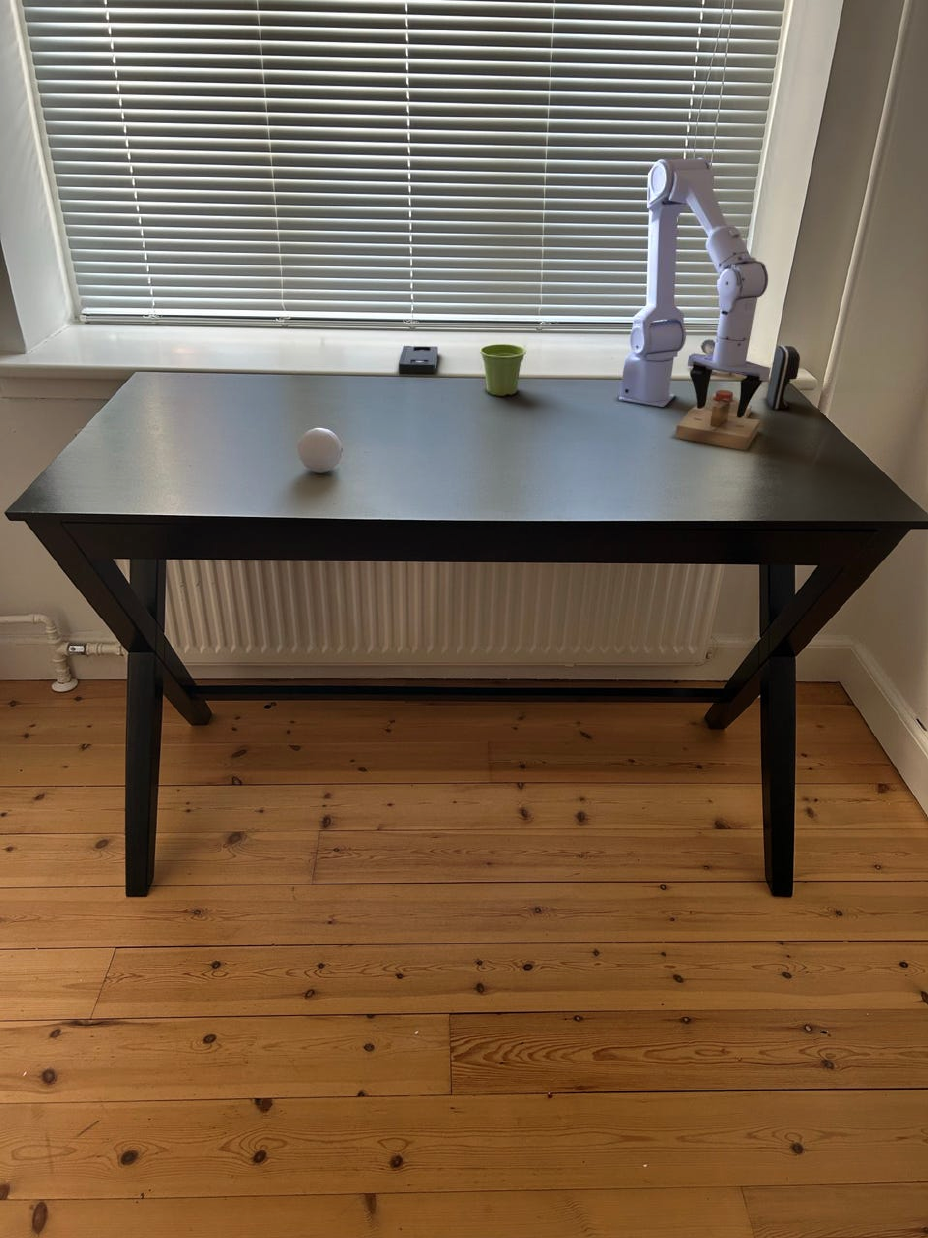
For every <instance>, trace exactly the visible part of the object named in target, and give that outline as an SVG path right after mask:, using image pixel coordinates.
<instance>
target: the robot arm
mask: <svg viewBox="0 0 928 1238" xmlns="http://www.w3.org/2000/svg"><path fill="white" fill-rule="evenodd" d="M714 182H715V172H714V171H713V169H712V166H711V163H710V161H709V160H708V159H707V158H705V157H697V158H682V159H665V158H661V159H659V160H657V161H656V162H655V163H654V165H653V166H652V168H651V169H650V171H649V172H648V174H647V193H646V194H647V195H646V196H647V199H646V209H648V232H647V233H648V235H647V268H646V269H647V270H646V301H645V303H646V304H645V305H644V306H643V308H641V310H639V311H638V312H637V313H636V314H635V315H634V316H633V318H632V319H633V321H632V328H631V331H630V334H629V344H630V345H629V346H630V349H631V351H632V352H629V353H628V354H627V355H626V357H625V360H624V363H623V367H622V375H621V385H620V386H621V387H620V395H619V398H618V400H619V401H622V402H630V403H633V404H634V403H635V404H641V405H647V406H652V407H659V408H665V406H667V405H668V404H669V403H670V401H672V399H673V398H675V394H674V393H671V392H670V389H671V382H672V376H673V375H672V373H673V367H674V360H675V358H676V357H678V353H679V352H681V350H682V349H683V348H684V347H685V344H686V340H687V331H686V327H685V318H684V317H685V315H684V312H683V311H681V310H680V309H679V307H677V306H676V305H675V294H676V293H675V291H676V269H677V268H676V267H677V243H678V220H679V219H678V218H679V216H680V214H681V213H682V212H683V211H684V210H685V209H686V208H687V207H690V208H691V210H692V213H693V214H694V215H695V217H696V219H697V221H698V222H699V224H700V226H701V228H702V229H703V230H704V232H705V233H706V236H707V239H706V241H705V249H706V251H707V254H708V255H709V257H710V260H711V262H712V264H713V265H714V268H715V270H716V272H717V274H718V276H719V278H718V279H717V281H716V286H717V287H716V288H717V292H718V298H719V299H718V307H719V310H720V312H719V318H718V324H717V331H716V337H715V349H714V355H707V354H701V353H695V352H693V353H691V354H690V355H688V358H687V367H690V368H691V370H690V371H689V377H690V379H691V382H692V385H693V387H694V391H695V398H696V404H697V408H698V409H701V408H703V407H704V406H705V404H706V399H707V398H708V392H709V391H708V390H709V386H710V382H711V377H712V374H713V371H717V372H721V373H722V372H723V373H726V374H727V373H728V374H729V373H732V374H733V375H738V376H742V377H746V378H743V379H741V380H740V391H739V392H740V393H739V400H740V402H739V406H738V411H737V417H739V418H741V417H742V416H744V415H745V412H746V409H747V407H748V405H750V403H751V400H752V398H753V397H754V395H755V393H756V392H757V391H758V389H759V387H760V386H761V385H762V383H763V382H765V381H767V380H768V379H770V375H771V370H772V367H769V366H765V365H761V364H757V363H754V362H752V361H748V360H747V358H748V352H749V346H750V342H751V336H752V332H753V331H752V330H753V324H754V320H755V315H756V309H757V303H758V298H760V297H762V296H763V295H764V294H765V292H766V291H767V288H768V284H769V274H768V270H767V267H766V265H765V264H764V262H762V261H759V260H757V259H756V257H752V256H751V254H750V252H749V250H748V248H747V246H746V243H745V242H744V240H743V238H742V236H741V232H740V230H739V228H737V227H736V226H733V225H728V224H727V221H726V219H725V217H724V214H723V211H722V208H721V207H720V204H719V200H718V198H717V196H716V193H715V191H714V188H713V186H714ZM732 374H731V375H732Z"/></svg>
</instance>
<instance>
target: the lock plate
mask: <svg viewBox="0 0 928 1238" xmlns="http://www.w3.org/2000/svg"><path fill="white" fill-rule="evenodd" d="M711 415H712V412H706V411H700V410H693V408H691V409H689V411H688V412H687V413H686V414H685V415H684V416H683V418H681V420H680V421H679V423H677V425H676V429H675V435H674V436H675V437H674V438H675V439H679V440H685V441H691V442H697V443H703V444H709V445H714V446H720V447H724V448H725V447H726V448H731V449H737V450H741V451H747V450H748V449H749V447H750V445H751V443H752V442H753V440H754V439H755V437H756V436H757V434H758V432H759V427H760V422H761V420H760V419H754V418H748V417H747V418H743V417H741V418H739V417H737V416H730V415H728V419H727V420H726V421H724V422H723V423H722V424H720V425H719V426H717V427H715V426H711V425H710V422H711Z"/></svg>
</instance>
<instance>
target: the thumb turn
mask: <svg viewBox="0 0 928 1238" xmlns="http://www.w3.org/2000/svg"><path fill="white" fill-rule="evenodd" d="M730 402H731V401H730V399H725V398H724V399H723V400H722V401H720V402H719V403H717V404H716V405H714V406H713V409H712V415H711V422H710V425H711V426H715V427H717V426H719V425H720V424H722V423H723V422H724V421H726V420H727V419H728V414H729V408H730Z"/></svg>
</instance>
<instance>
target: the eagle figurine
mask: <svg viewBox="0 0 928 1238" xmlns="http://www.w3.org/2000/svg"><path fill="white" fill-rule="evenodd" d="M715 343H716V341H714V339H710V338H709V339H705V340H704V341H702V343H701V344H700V349H701V350H702V353H704V355H714V349H715ZM728 375H729V376H732V373H728Z"/></svg>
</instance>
